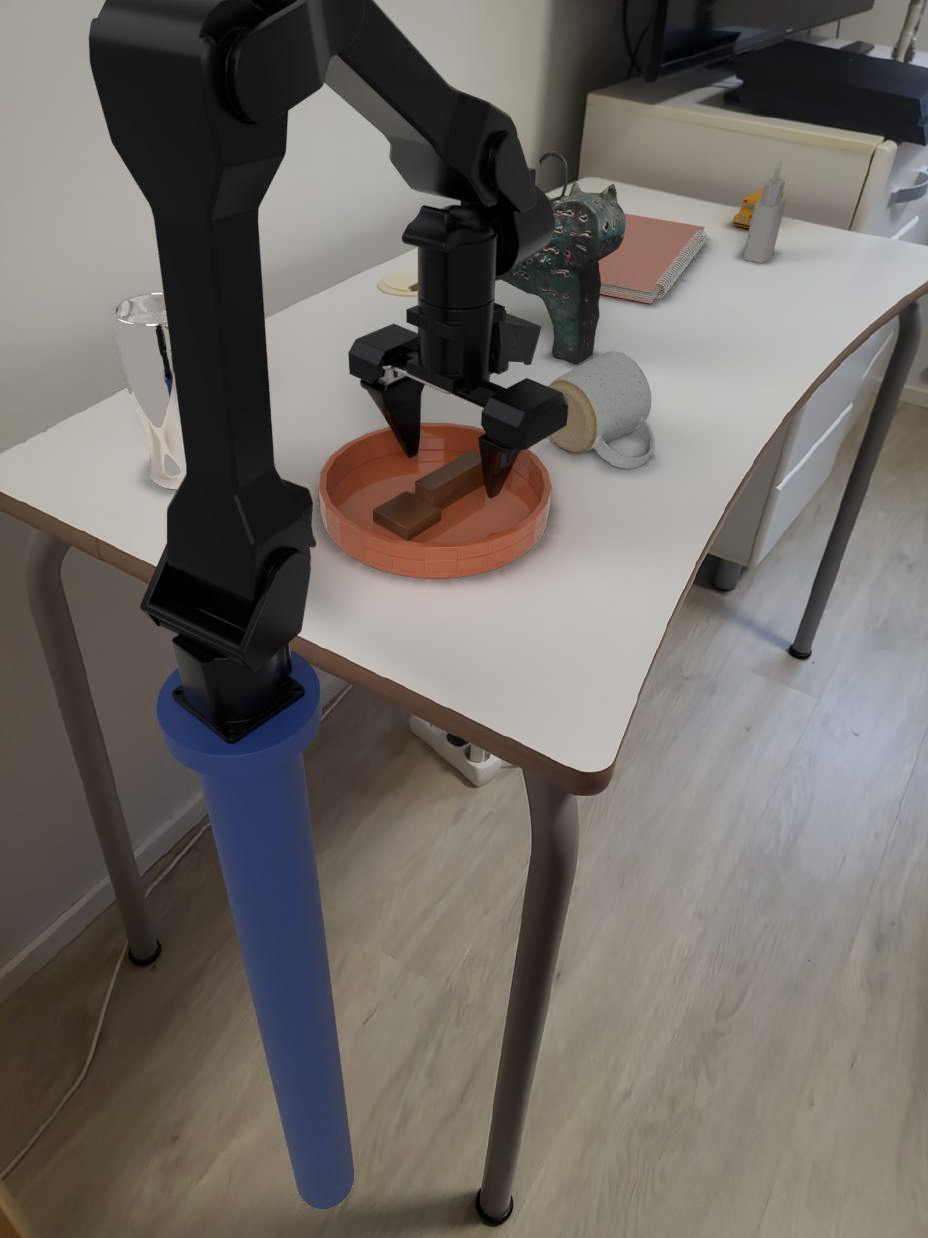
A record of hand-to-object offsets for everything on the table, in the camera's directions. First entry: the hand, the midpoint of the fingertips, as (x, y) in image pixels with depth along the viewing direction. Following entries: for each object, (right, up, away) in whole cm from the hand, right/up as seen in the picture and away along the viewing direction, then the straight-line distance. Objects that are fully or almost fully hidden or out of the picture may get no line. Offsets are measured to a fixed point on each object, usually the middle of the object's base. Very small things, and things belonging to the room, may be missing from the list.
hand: (451, 475), depth 79 cm
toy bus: (+45, +47, +61) cm, 90 cm away
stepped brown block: (-1, -2, 0) cm, 3 cm away
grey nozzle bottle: (+42, +38, +50) cm, 76 cm away
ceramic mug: (+14, +4, +10) cm, 18 cm away
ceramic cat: (+8, +19, +27) cm, 34 cm away
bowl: (-1, -3, 0) cm, 3 cm away
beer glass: (-24, +1, +4) cm, 24 cm away
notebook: (+23, +36, +47) cm, 64 cm away
